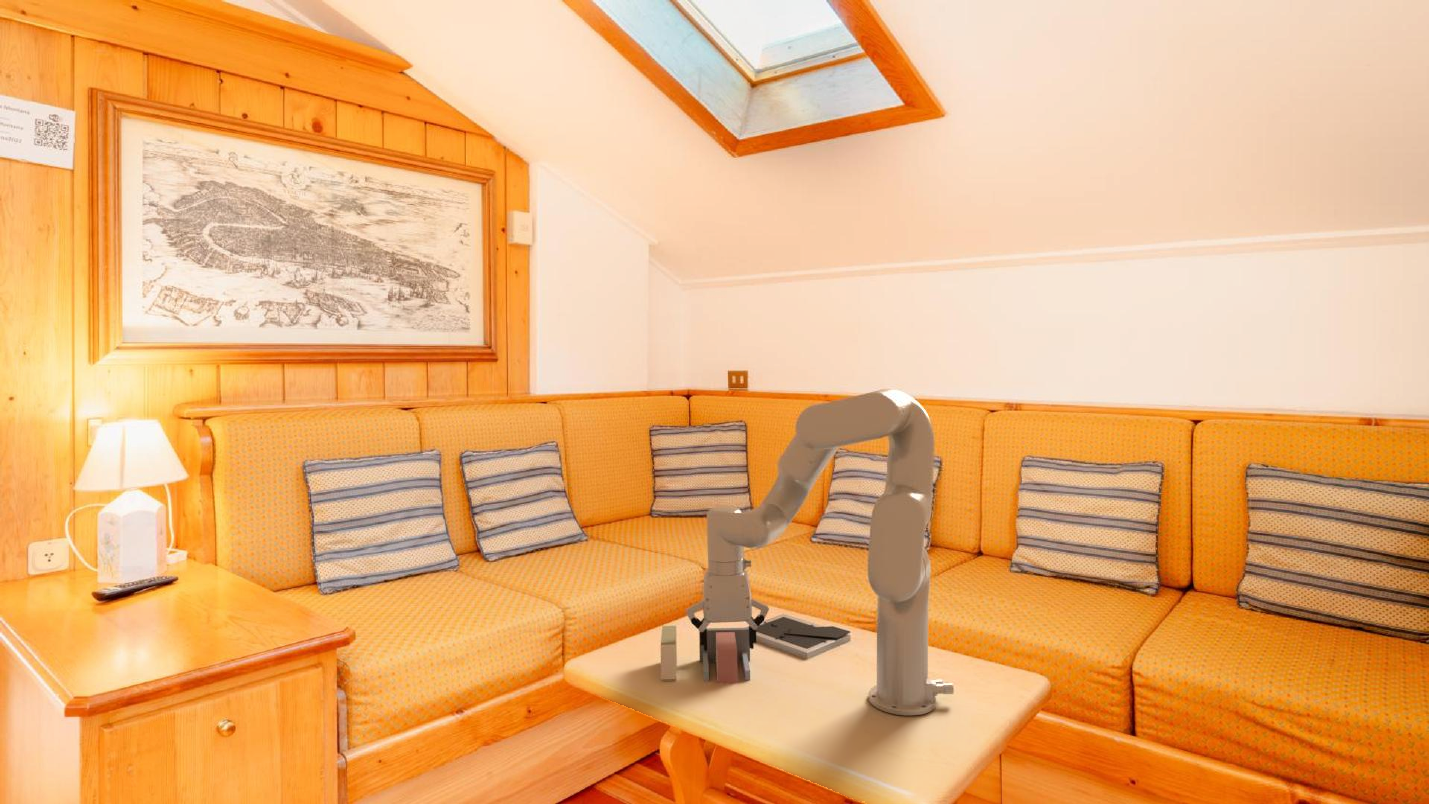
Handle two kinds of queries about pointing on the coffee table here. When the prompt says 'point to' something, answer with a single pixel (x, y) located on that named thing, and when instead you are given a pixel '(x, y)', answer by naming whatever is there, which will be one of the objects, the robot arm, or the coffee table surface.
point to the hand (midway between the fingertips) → (728, 647)
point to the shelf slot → (710, 653)
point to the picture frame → (800, 636)
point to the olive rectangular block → (668, 653)
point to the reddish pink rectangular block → (726, 657)
